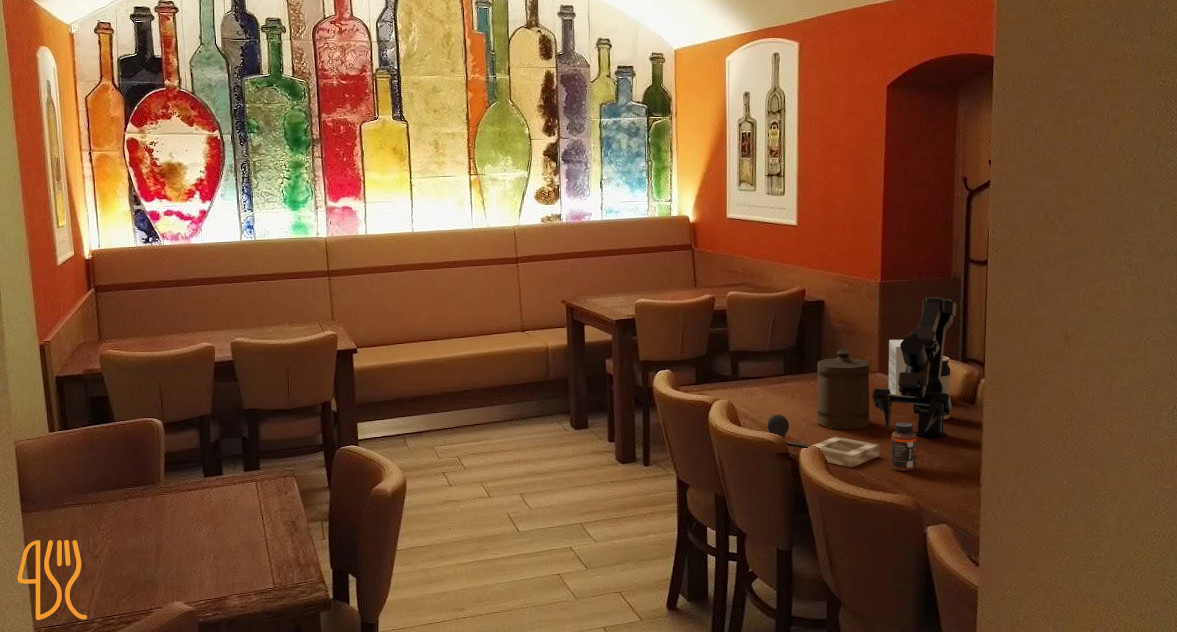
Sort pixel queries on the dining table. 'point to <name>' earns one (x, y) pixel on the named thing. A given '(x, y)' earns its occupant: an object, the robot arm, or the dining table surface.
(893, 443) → the supplement bottle
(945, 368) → the travel mug
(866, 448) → the cream square shallow tray
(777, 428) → the light bulb
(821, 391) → the wooden container
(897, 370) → the supplement box
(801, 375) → the dining table surface
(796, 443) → the dark grey rod
